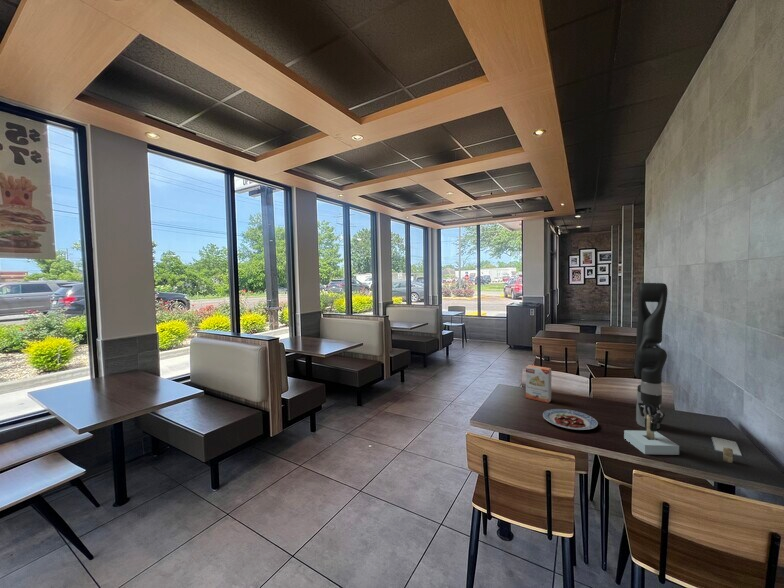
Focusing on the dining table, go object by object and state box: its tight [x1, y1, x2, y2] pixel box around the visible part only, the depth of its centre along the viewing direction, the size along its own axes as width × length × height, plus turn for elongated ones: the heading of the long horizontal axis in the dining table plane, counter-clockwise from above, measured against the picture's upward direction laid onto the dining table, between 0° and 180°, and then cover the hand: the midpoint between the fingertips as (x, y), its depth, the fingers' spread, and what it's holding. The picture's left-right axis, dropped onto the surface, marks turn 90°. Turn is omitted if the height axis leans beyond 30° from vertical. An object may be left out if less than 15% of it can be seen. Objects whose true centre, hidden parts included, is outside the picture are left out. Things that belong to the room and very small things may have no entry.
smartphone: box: [711, 436, 743, 457], centre depth 146 cm, size 8×1×15 cm
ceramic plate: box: [542, 408, 599, 431], centre depth 174 cm, size 26×26×3 cm
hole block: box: [623, 429, 680, 456], centre depth 148 cm, size 14×14×4 cm
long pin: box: [646, 414, 655, 440], centre depth 147 cm, size 3×3×12 cm
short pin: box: [722, 447, 734, 464], centre depth 135 cm, size 3×3×5 cm
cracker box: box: [525, 364, 552, 404], centre depth 207 cm, size 14×6×21 cm, turn 48°
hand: (650, 429), depth 147 cm, fingers closed on long pin, 2 cm apart
